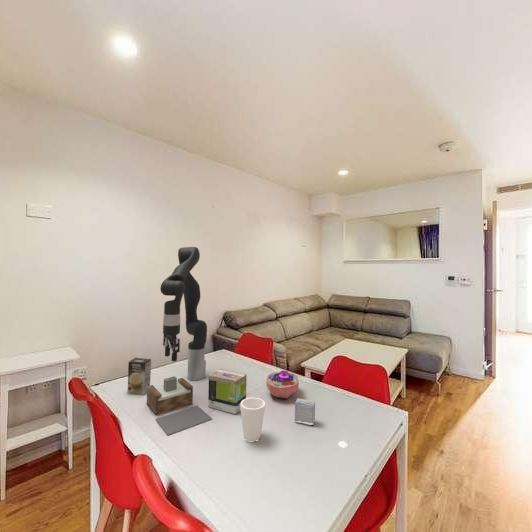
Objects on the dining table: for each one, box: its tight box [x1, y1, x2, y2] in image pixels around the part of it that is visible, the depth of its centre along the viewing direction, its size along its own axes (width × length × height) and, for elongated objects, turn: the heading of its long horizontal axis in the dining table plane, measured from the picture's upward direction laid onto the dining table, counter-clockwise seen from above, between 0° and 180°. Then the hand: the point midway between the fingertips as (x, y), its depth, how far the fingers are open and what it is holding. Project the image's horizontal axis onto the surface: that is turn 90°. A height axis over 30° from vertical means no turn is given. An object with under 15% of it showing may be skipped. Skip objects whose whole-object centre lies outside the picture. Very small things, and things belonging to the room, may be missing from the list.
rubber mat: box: [154, 405, 213, 437], centre depth 118 cm, size 19×14×1 cm
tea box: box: [207, 369, 247, 415], centre depth 130 cm, size 15×10×15 cm, turn 65°
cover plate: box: [155, 376, 191, 401], centre depth 130 cm, size 15×12×6 cm
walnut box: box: [146, 377, 194, 417], centre depth 130 cm, size 17×12×8 cm
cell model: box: [265, 369, 300, 399], centre depth 143 cm, size 17×20×11 cm
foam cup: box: [240, 397, 266, 442], centre depth 107 cm, size 10×9×13 cm
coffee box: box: [127, 357, 152, 396], centre depth 143 cm, size 9×6×16 cm
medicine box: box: [294, 398, 316, 424], centre depth 119 cm, size 8×4×9 cm, turn 71°
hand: (170, 358), depth 130 cm, fingers open, 8 cm apart
